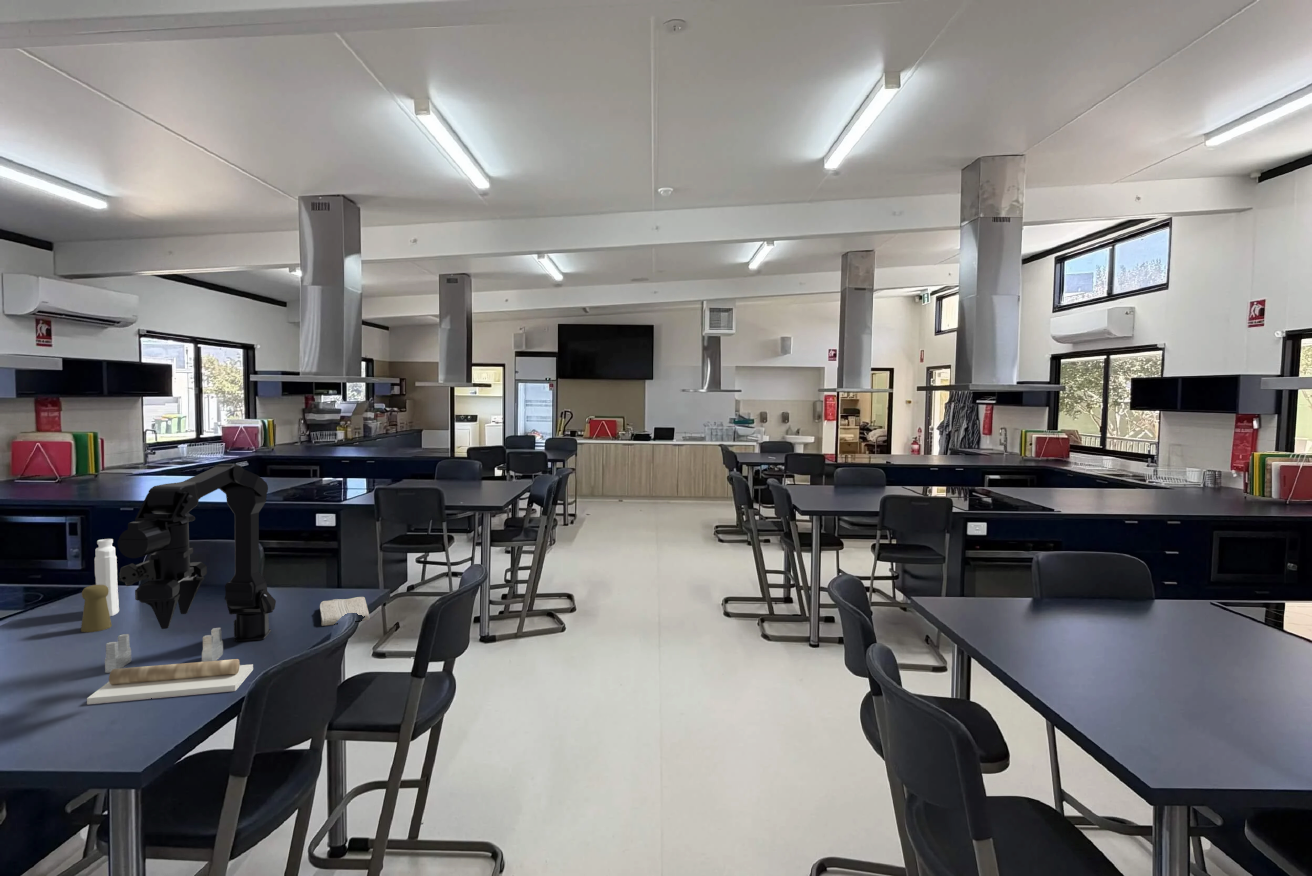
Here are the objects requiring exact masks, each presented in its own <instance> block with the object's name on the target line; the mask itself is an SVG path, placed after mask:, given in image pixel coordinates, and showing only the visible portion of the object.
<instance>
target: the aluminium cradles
mask: <svg viewBox="0 0 1312 876" xmlns="http://www.w3.org/2000/svg"><path fill="white" fill-rule="evenodd" d="M210 633H211V634H207V635H204V636H203V637H202V651H201V662H207V661H218V660H219V659H220V658H221V657H222V656H223V655H224V640H222V639H223V638H222V627H213V628H212V629H211V630H210ZM131 662H132V648H131V647H130V633H126V634H124V633H123V634H120V635H118V636H117V641H109V642H107V643H105V658H104V669H105V670H104V673H105V674H110V672H111V671H112V670H113V669H120V668H125V667H126V666H127V665H128V664H129V663H131Z"/></svg>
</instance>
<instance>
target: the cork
mask: <svg viewBox="0 0 1312 876" xmlns="http://www.w3.org/2000/svg"><path fill="white" fill-rule="evenodd" d="M108 592H109V589H108V587H107V586H106V585H96V584H92V585H87V586H86V587H84V588H83V590H82V591H81V597H82V599H83V600H84V605H83V610H82V611H83V613H82V619H81V625H80V632H81V633H94V632H95V633H97V632H101V631H104V630H108V629H110V628H111V627H112V620H111V616H110V615H109V610H108V605H107V600H106V596H107V595H108Z"/></svg>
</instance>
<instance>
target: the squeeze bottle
mask: <svg viewBox="0 0 1312 876" xmlns="http://www.w3.org/2000/svg"><path fill="white" fill-rule="evenodd" d="M113 543H114V539H113V538H104V539H103V538H102V539H98V540H97V541H96V544H97V545H98V547H96V548H95V557H94V577H95V585H106V586H107V587H108V589H109V592H108V595H107V596H106V600H107V605H108V610H109V615H110V617H113V616H115V615H117V614H118V613H119V612H120V607H119V606H120V605H119V604H120V602H119V601H120V600H119V592H118V591H119V589H118V588H119V586H118V581H119V579H118V563H117V562H118V560H117V559H118V557H117V555H116V547H115V546H113Z"/></svg>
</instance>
